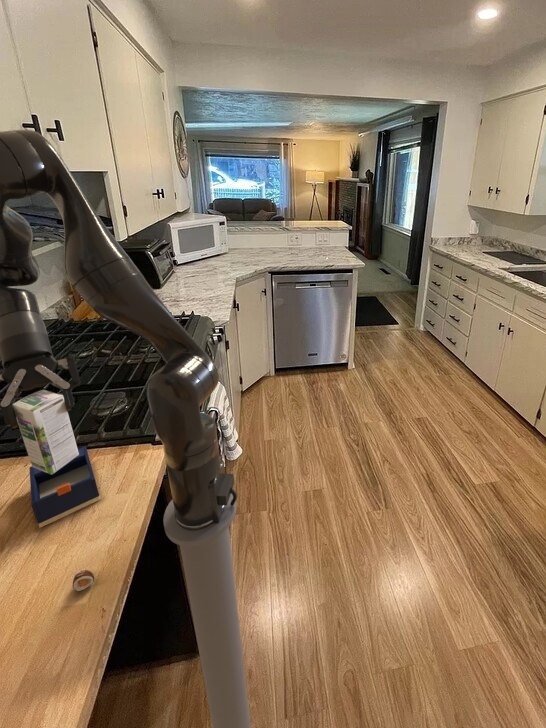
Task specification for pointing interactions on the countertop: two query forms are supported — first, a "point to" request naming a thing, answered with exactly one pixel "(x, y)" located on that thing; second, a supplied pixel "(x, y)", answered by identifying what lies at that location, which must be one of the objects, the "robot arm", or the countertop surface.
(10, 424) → the robot arm
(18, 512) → the countertop surface
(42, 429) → the syrup box
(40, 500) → the navy blue pull-out drawer
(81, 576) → the chocolate
